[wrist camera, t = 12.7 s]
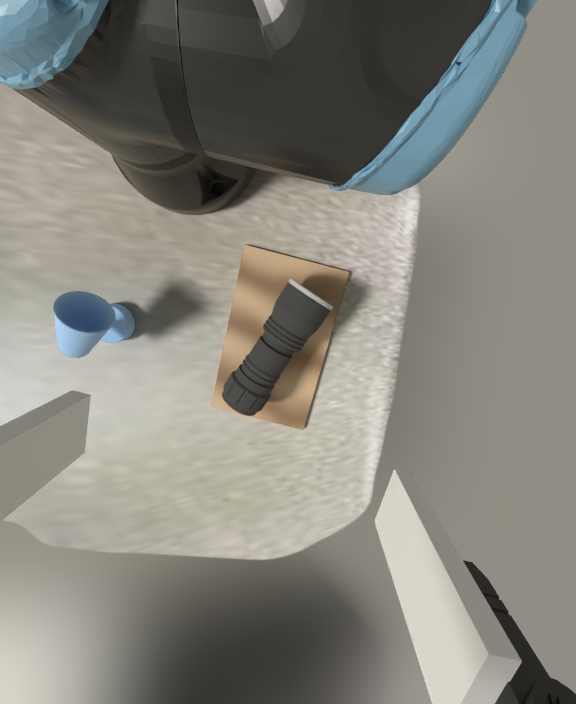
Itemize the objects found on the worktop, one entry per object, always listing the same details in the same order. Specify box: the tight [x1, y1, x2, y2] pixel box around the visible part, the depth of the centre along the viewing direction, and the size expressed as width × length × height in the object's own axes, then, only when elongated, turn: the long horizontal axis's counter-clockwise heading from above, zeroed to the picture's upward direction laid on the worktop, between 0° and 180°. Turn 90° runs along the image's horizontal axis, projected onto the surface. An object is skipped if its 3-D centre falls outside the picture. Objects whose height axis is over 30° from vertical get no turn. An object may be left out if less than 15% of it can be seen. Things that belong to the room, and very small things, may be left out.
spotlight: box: [54, 291, 135, 358], centre depth 32 cm, size 5×10×7 cm
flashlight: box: [222, 278, 333, 416], centre depth 34 cm, size 15×5×5 cm, turn 147°
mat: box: [211, 245, 349, 430], centre depth 37 cm, size 20×12×1 cm, turn 166°
